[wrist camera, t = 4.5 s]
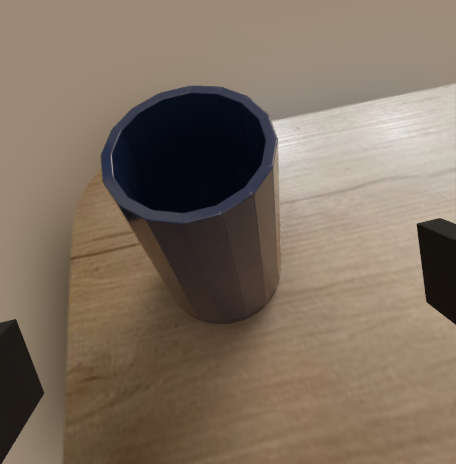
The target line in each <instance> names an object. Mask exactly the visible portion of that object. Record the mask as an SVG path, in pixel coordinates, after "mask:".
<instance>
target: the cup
mask: <svg viewBox="0 0 456 464" xmlns="http://www.w3.org/2000/svg"><path fill="white" fill-rule="evenodd" d="M101 166H102V181H103V184H104V185H105V187H106V189H107V190H108V192H109V193H110V195H111V197H112V198H113V200H114V202H115V203H116V205H117V206H118V208H119V210H120V211H121V213H122V215H123V216H124V218H125V220H126V221H127V223H128V224H129V226H130V228H131V229H132V231H133V233H134V234H135V236H136V238H137V239H138V241H139V242H140V244H141V246H142V247H143V249H144V251H145V252H146V254H147V256H148V257H149V259H150V260H151V262H152V264H153V265H154V267H155V269H156V270H157V272H158V273H159V275H160V277H161V278H162V280H163V282H164V283H165V285H166V287H167V288H168V290H169V291H170V293H171V294H172V296H173V297H174V299H175V301H176V302H177V303H178V305H179V306H180V307H181V308H182V309H183V310H184V311H185V312H186V313H188V314H189V315H191V316H192V317H194V318H196V319H198V320H201V321H204V322H208V323H213V324H229V323H234V322H238V321H241V320H244V319H246V318H248V317H251V316H252V315H254V314H255V313H257V312H258V311H259V310H261V309H262V308H263V307H264V306H265V305H266V304H267V303H268V302H269V300H270V299H271V297H272V296H273V294H274V292H275V290H276V288H277V285H278V282H279V278H280V266H281V244H280V206H279V168H278V138H277V136H276V133H275V130H274V128H273V125H272V122H271V120H270V117H269V115H268V114H267V113H266V112H265V111H264V110H263V109H262V108H261V107H260V106H258V105H257V104H256V103H255V102H254V101H253V100H252V99H251V98H250V97H248V96H246V95H243V94H240V93H237V92H235V91H232V90H229V89H226V88H224V87H217V86H216V87H215V86H187V87H182V88H178V89H174V90H170V91H166V92H162V93H160V94H157V95H155V96H153V97H151V98H150V99H148V100H146V101H144V102H142V103H141V104H139V105H137V106H135V107H134V108H133V109H131V110H130V111H129V112H128V113H127V114H126V115H125V116H124V117H123V118H122V119H121V120H120V121H119V122H118V123H117V125H116V126H114V127H113V129H112V130H111V132H110V135H109V137H108V139H107V142H106V144H105V147H104V149H103V151H102V153H101Z"/></svg>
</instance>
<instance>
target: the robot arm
mask: <svg viewBox="0 0 456 464" xmlns="http://www.w3.org/2000/svg"><path fill="white" fill-rule="evenodd" d="M417 231H418V239H419V246H420V254H421V262H422V270H423V278H424V286H425V294H426V302H427V303H428V304H430V305H431V306H432V307H434V308H435V309H436V310H437V311H439V312H440V313H441V314H443V315H444V316H445V317H447V318H448V319H449V320H450V321H452V322H453V323H454V324H456V224H454V223H452V222H449V221H446V220H444V219H441V218H439V219H434V220H430V221H426V222H422V223H418V224H417ZM43 394H44V391H43V389H42V386H41V383H40V381H39V378H38V375H37V373H36V370H35V368H34V365H33V362H32V360H31V357H30V354H29V352H28V349H27V347H26V344H25V341H24V339H23V336H22V334H21V331H20V328H19V326H18V323H17V320H16V319H14V320H10V321H6V322H2V323H0V464H2V462H3V460H4V459H5V457H6V455H7V454H8V452H9V450H10V449H11V447H12V445H13V443H14V442H15V441H16V439H17V437H18V435H19V434H20V432H21V431H22V429H23V427H24V425H25V424H26V422H27V421H28V419H29V417H30V416H31V414H32V412H33V411H34V409H35V408H36V406H37V404H38V403H39V401H40V399H41V398H42V396H43Z"/></svg>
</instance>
